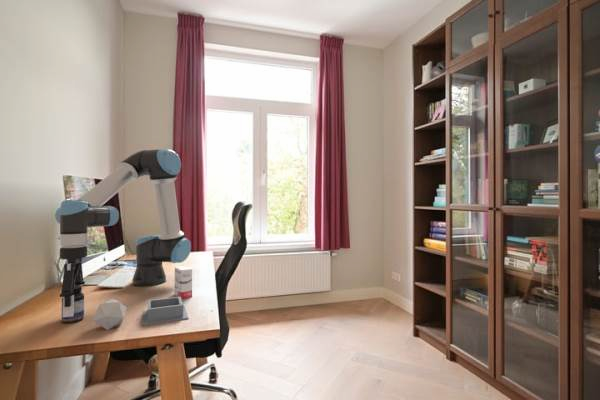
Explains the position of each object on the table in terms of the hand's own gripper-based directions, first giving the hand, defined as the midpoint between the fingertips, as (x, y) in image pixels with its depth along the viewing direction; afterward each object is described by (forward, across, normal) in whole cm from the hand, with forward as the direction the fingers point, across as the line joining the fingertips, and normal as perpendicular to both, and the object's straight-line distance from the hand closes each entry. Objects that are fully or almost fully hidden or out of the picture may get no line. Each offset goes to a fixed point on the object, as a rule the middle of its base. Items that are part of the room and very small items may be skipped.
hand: (72, 310), depth 106 cm
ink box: (+4, -15, +36) cm, 39 cm away
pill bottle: (+4, 0, 0) cm, 4 cm away
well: (+3, +8, +28) cm, 29 cm away
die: (+4, +11, +12) cm, 17 cm away
